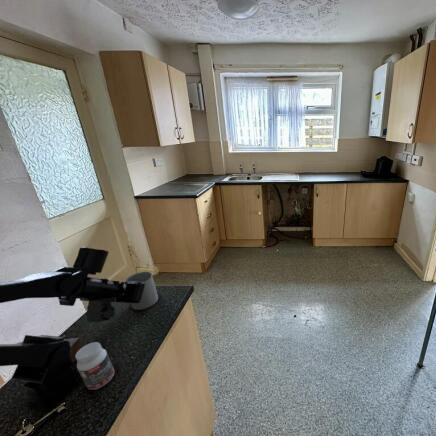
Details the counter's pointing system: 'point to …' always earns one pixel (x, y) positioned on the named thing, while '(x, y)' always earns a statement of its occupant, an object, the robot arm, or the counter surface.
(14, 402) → the counter surface
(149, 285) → the cup
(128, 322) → the counter surface
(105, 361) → the pill bottle
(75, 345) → the walnut block
